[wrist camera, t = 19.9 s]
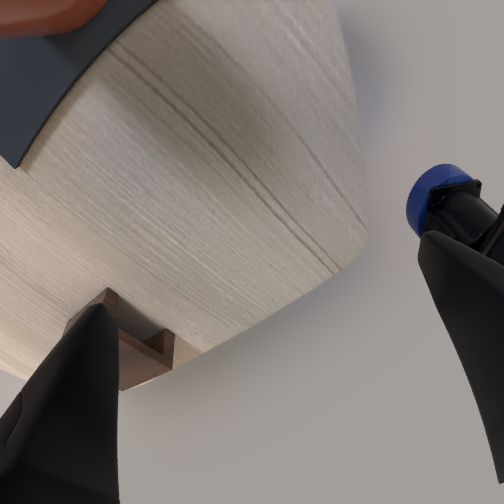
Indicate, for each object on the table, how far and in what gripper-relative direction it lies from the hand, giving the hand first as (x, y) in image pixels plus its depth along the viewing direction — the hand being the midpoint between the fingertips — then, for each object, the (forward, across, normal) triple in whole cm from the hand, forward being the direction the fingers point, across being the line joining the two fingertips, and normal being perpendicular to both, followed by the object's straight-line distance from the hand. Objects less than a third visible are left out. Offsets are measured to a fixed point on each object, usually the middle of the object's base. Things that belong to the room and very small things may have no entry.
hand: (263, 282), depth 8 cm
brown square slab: (+12, +15, +14) cm, 24 cm away
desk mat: (+12, +17, -25) cm, 32 cm away
